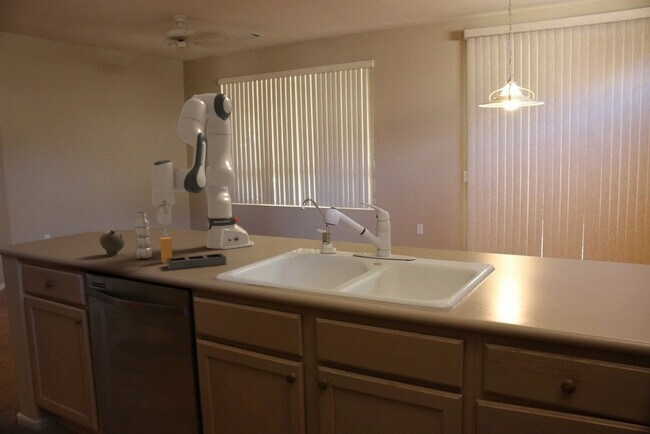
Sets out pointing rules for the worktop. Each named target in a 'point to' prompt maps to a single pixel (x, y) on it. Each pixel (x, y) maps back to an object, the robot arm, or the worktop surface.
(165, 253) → the orange block
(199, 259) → the grey compartment tray
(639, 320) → the worktop surface
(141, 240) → the plastic bottle
